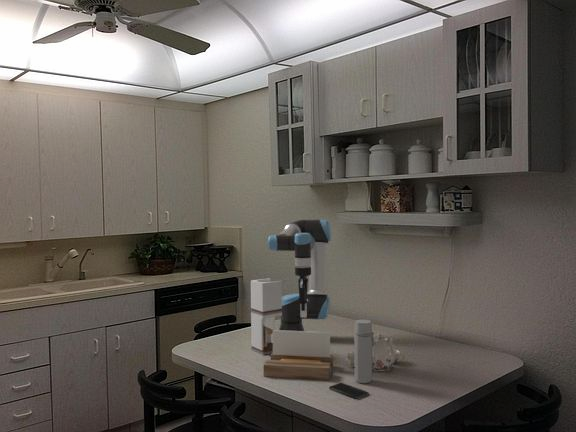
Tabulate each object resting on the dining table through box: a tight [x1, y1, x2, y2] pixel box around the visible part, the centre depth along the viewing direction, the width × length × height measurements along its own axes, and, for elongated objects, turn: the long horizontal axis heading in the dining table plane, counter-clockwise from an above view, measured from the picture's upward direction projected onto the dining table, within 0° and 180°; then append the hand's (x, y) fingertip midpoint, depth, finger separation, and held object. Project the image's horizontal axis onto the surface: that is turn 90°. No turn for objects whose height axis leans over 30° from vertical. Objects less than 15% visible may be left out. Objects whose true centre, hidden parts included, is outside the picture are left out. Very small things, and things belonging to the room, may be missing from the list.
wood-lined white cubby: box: [250, 278, 283, 356], centre depth 256 cm, size 11×11×35 cm
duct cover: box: [272, 329, 331, 357], centre depth 231 cm, size 11×26×1 cm
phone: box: [328, 382, 370, 400], centre depth 202 cm, size 8×1×15 cm
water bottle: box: [353, 319, 376, 384], centre depth 213 cm, size 9×8×25 cm
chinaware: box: [345, 332, 405, 372], centre depth 231 cm, size 28×17×17 cm, turn 111°
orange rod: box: [281, 359, 321, 362], centre depth 229 cm, size 3×19×3 cm, turn 80°
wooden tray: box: [263, 352, 334, 381], centre depth 226 cm, size 18×28×5 cm, turn 79°
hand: (303, 317), depth 238 cm, fingers closed
